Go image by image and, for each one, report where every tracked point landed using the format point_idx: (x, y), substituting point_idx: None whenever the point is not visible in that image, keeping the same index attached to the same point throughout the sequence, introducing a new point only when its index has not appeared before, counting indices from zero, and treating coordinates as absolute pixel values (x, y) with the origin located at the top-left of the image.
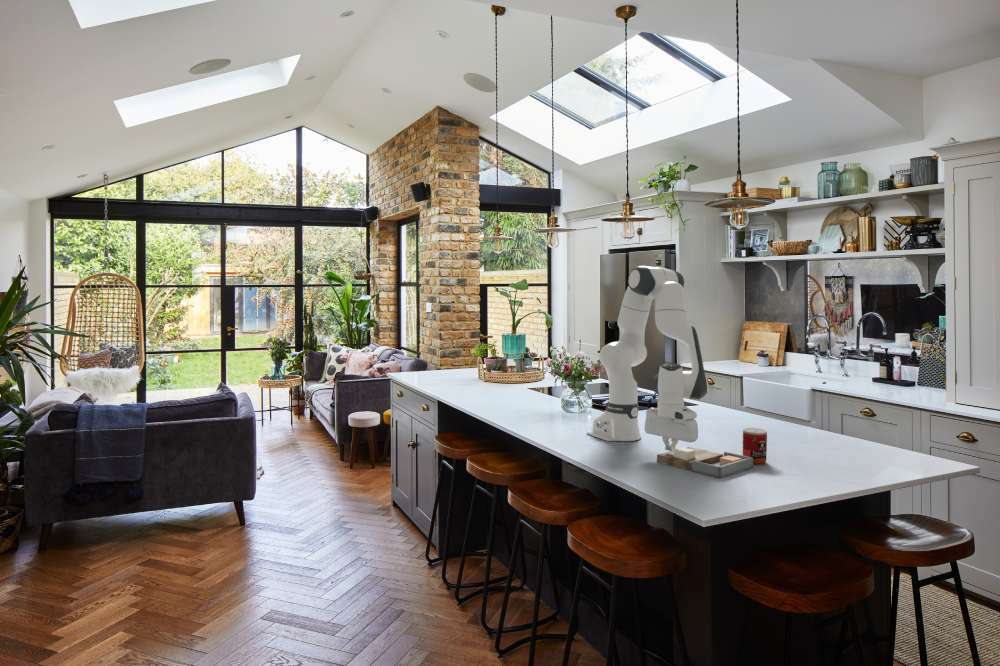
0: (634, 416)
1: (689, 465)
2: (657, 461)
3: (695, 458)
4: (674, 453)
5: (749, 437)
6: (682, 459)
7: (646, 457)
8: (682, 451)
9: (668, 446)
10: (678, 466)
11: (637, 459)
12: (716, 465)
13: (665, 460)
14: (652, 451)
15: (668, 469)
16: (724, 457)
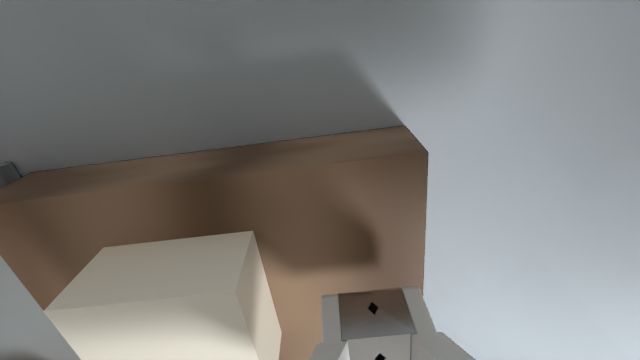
0: None
1: (14, 189)
2: (399, 127)
3: None
4: (237, 257)
5: None
6: (129, 230)
7: (569, 154)
8: (109, 309)
9: (379, 327)
10: (158, 158)
11: (613, 15)
12: (77, 357)
13: (303, 150)
14: (614, 302)
15: (124, 11)
16: None
